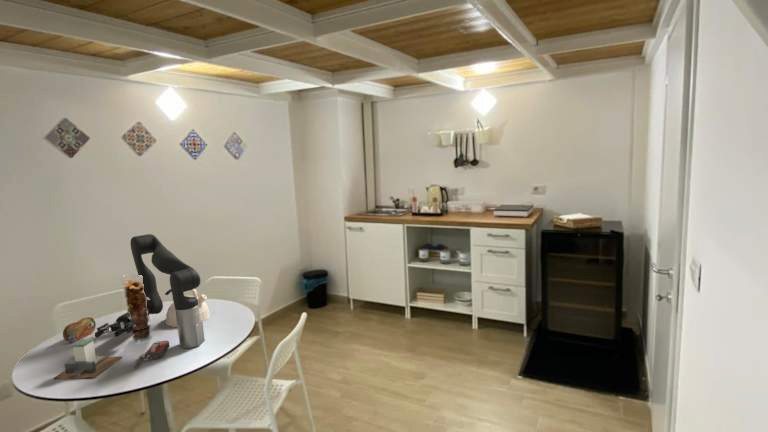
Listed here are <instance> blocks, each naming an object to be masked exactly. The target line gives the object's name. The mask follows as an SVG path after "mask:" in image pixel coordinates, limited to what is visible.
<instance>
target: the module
mask: <svg viewBox="0 0 768 432" xmlns="http://www.w3.org/2000/svg"><path fill="white" fill-rule="evenodd" d="M72 351H73V355H74V360H75V361H74V362H84V361H95V363H97V361H96V357H97V356H96V350H95V345H94V339H93V338H88V339H87V338H82V339H80V340H78V341H76V342H74V344H72Z"/></svg>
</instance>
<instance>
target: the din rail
mask: <svg viewBox="0 0 768 432" xmlns="http://www.w3.org/2000/svg"><path fill="white" fill-rule="evenodd" d="M106 357H107V356H105V355H102V356H100V355H97V356H96V361H97V363H95V365H96V364H98V363H99V362H101V361H102V360H103V359H105V358H106ZM82 374H84V371H75V372H73V373H72V374H71V376H81V375H82Z"/></svg>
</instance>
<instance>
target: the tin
mask: <svg viewBox="0 0 768 432" xmlns="http://www.w3.org/2000/svg"><path fill="white" fill-rule="evenodd" d="M96 327H97V326H96V321H95V319H94V318H93V317H90V316H89V317H83V318H80V319H78V320H76V321H74V322H72V323H69V324H68V325H66V326H65V327H64V329H63V331H62V336H63V340H64V341H65V342H68V343H77V342H79V341H80V340H82V339H85V338H86V337H88V336H91V335H93V333H94V331H95V330H96Z"/></svg>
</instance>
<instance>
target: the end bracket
mask: <svg viewBox="0 0 768 432" xmlns="http://www.w3.org/2000/svg"><path fill="white" fill-rule="evenodd" d="M64 371H66V374H68V373H73V372H75V371H84V373H94V372H95V371H96V366H95V361H84V362H75V361H66V362H65V363H64Z"/></svg>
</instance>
